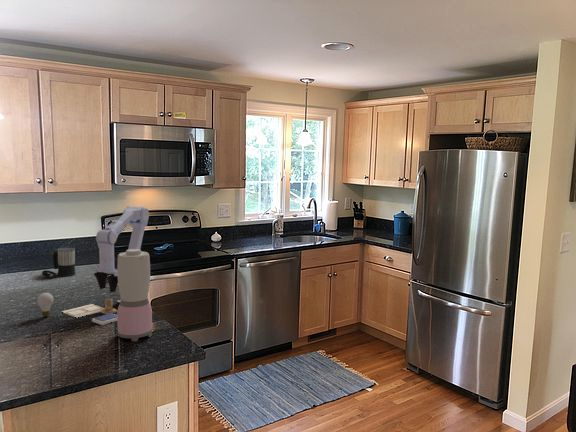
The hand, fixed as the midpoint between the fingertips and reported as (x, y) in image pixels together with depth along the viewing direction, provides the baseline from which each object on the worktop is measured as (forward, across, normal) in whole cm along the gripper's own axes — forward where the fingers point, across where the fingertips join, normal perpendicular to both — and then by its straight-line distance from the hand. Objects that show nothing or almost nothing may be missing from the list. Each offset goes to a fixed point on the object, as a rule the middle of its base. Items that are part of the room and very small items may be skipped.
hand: (107, 290), depth 197 cm
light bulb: (+10, -15, -19) cm, 26 cm away
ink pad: (+10, +8, -6) cm, 14 cm away
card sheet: (+10, -10, -5) cm, 15 cm away
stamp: (+10, 0, 0) cm, 10 cm away
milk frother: (+10, -78, +20) cm, 81 cm away
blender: (+10, +29, -9) cm, 32 cm away
